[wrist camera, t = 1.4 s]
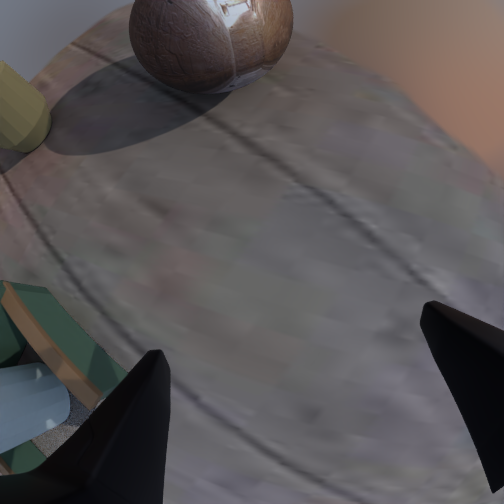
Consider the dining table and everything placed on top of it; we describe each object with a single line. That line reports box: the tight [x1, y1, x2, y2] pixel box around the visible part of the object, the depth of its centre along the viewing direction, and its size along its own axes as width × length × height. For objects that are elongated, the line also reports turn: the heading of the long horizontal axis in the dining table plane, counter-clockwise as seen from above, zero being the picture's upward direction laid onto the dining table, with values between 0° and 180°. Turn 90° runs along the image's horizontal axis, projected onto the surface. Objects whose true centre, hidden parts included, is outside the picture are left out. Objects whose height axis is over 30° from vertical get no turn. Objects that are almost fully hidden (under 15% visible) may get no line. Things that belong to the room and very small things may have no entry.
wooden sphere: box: [129, 0, 293, 94], centre depth 21 cm, size 15×15×15 cm
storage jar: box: [0, 362, 70, 454], centre depth 16 cm, size 7×7×13 cm
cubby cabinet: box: [0, 280, 128, 475], centre depth 17 cm, size 13×19×10 cm
